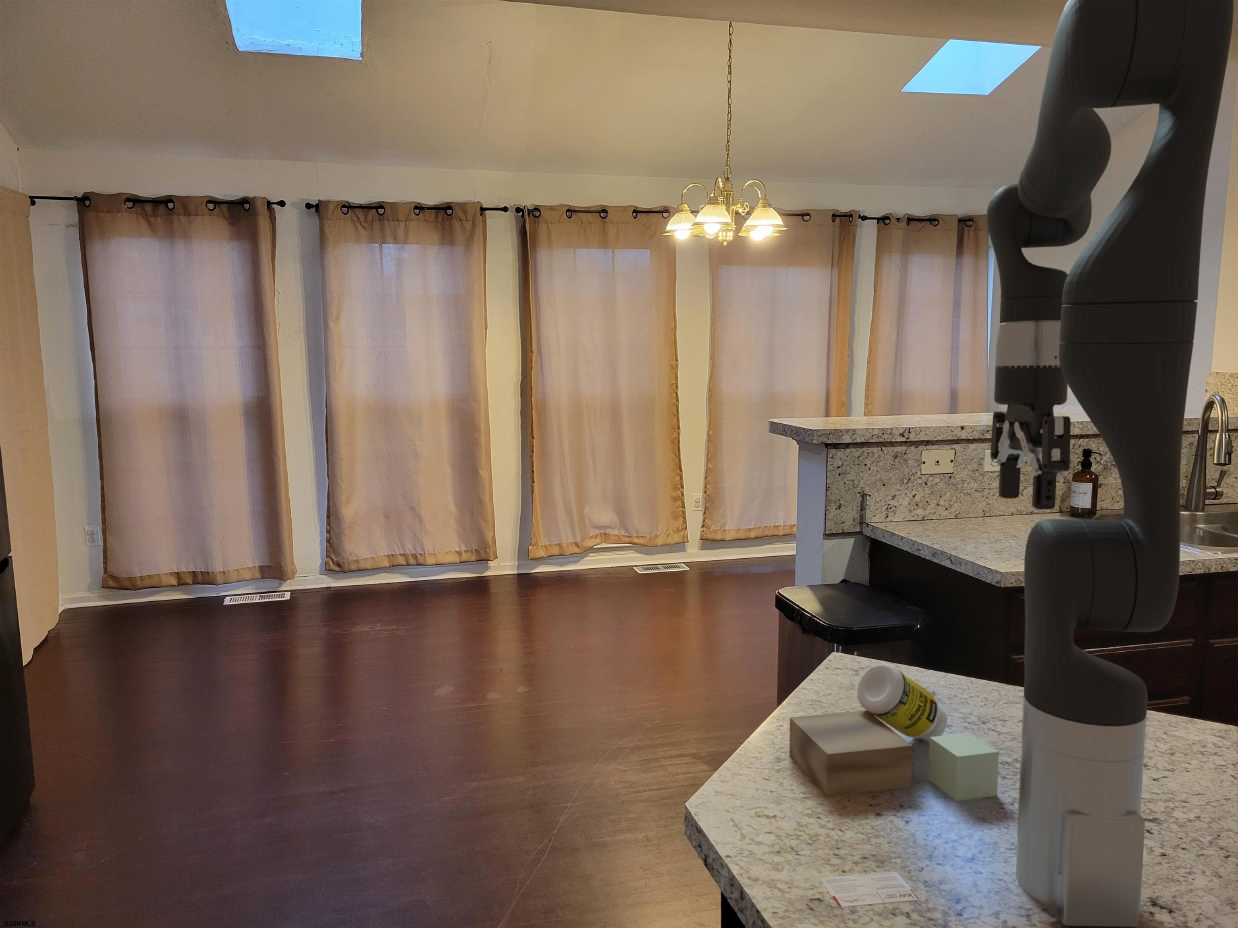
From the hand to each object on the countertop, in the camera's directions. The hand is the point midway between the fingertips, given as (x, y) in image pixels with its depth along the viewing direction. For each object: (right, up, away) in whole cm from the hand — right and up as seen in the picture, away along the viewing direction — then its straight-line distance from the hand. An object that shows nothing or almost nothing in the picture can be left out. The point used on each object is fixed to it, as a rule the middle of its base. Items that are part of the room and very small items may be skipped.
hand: (1025, 503), depth 96 cm
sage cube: (-10, -31, -6) cm, 33 cm away
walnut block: (-21, -31, -1) cm, 37 cm away
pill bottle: (-17, -22, +2) cm, 28 cm away
